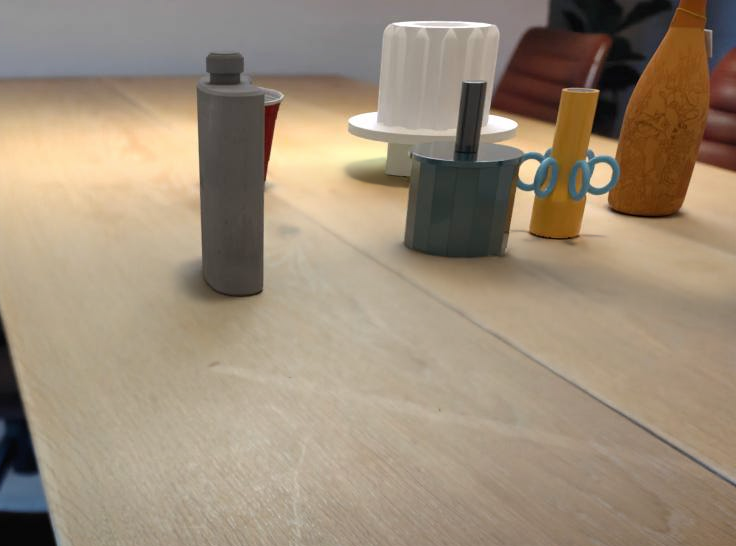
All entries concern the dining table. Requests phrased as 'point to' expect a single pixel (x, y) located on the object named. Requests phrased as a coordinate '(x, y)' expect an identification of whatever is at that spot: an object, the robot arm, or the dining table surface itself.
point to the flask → (231, 175)
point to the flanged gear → (430, 87)
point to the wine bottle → (665, 119)
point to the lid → (468, 138)
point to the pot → (460, 210)
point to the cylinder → (567, 168)
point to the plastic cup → (270, 122)
